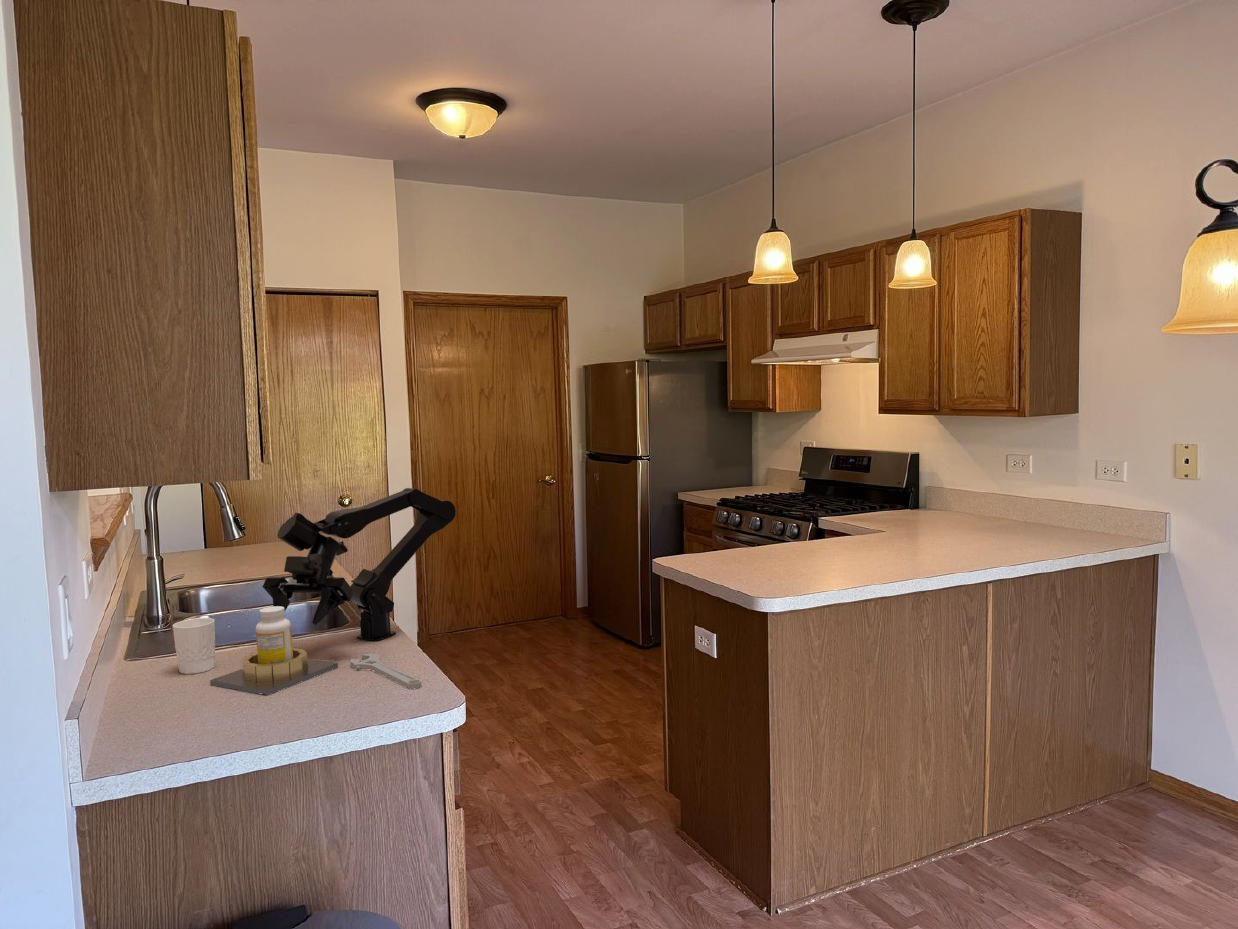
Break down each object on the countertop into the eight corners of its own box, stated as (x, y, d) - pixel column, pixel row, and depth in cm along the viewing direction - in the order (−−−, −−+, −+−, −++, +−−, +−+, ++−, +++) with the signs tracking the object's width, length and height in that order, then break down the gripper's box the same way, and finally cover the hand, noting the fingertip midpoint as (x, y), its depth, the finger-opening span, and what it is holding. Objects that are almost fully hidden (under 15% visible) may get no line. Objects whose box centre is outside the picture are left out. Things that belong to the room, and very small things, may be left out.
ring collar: (283, 659, 185) (282, 641, 185) (338, 667, 178) (336, 648, 178) (210, 685, 169) (208, 665, 169) (267, 695, 162) (265, 675, 162)
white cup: (169, 676, 176) (165, 628, 175) (186, 664, 184) (183, 618, 183) (207, 674, 176) (204, 626, 175) (224, 662, 184) (220, 617, 183)
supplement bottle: (275, 664, 178) (271, 604, 177) (301, 667, 176) (297, 605, 175) (251, 674, 172) (246, 612, 171) (277, 677, 169) (273, 613, 168)
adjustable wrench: (424, 689, 164) (424, 680, 164) (393, 697, 160) (392, 688, 160) (374, 659, 184) (374, 651, 184) (345, 666, 180) (344, 658, 180)
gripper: (264, 540, 186) (235, 602, 176) (342, 540, 182) (317, 604, 172) (287, 568, 194) (261, 629, 184) (363, 569, 190) (340, 631, 180)
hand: (294, 623), depth 180 cm, fingers open, 9 cm apart
